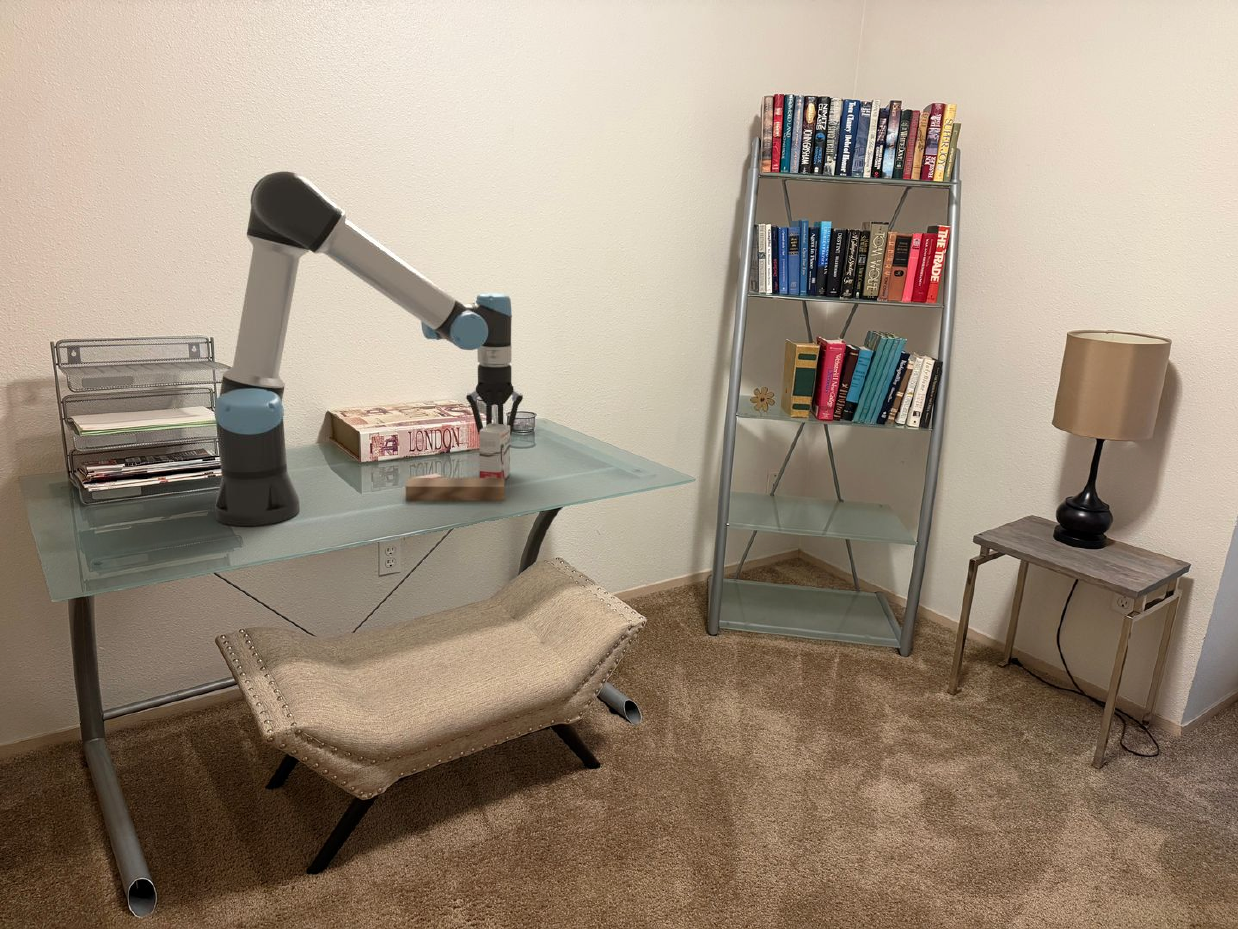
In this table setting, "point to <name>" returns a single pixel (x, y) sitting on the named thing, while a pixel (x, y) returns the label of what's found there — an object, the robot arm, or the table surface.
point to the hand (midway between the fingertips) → (495, 464)
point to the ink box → (494, 451)
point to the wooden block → (455, 489)
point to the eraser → (430, 476)
